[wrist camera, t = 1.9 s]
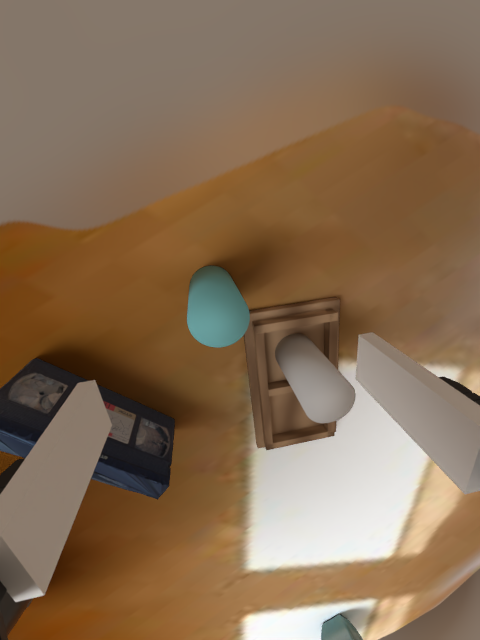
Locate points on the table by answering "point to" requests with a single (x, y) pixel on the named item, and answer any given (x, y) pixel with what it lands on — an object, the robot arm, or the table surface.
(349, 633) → the flower pot
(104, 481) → the vhs cassette tape
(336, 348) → the rack
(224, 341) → the teal rounded cylinder
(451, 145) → the table surface
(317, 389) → the white cylinder
